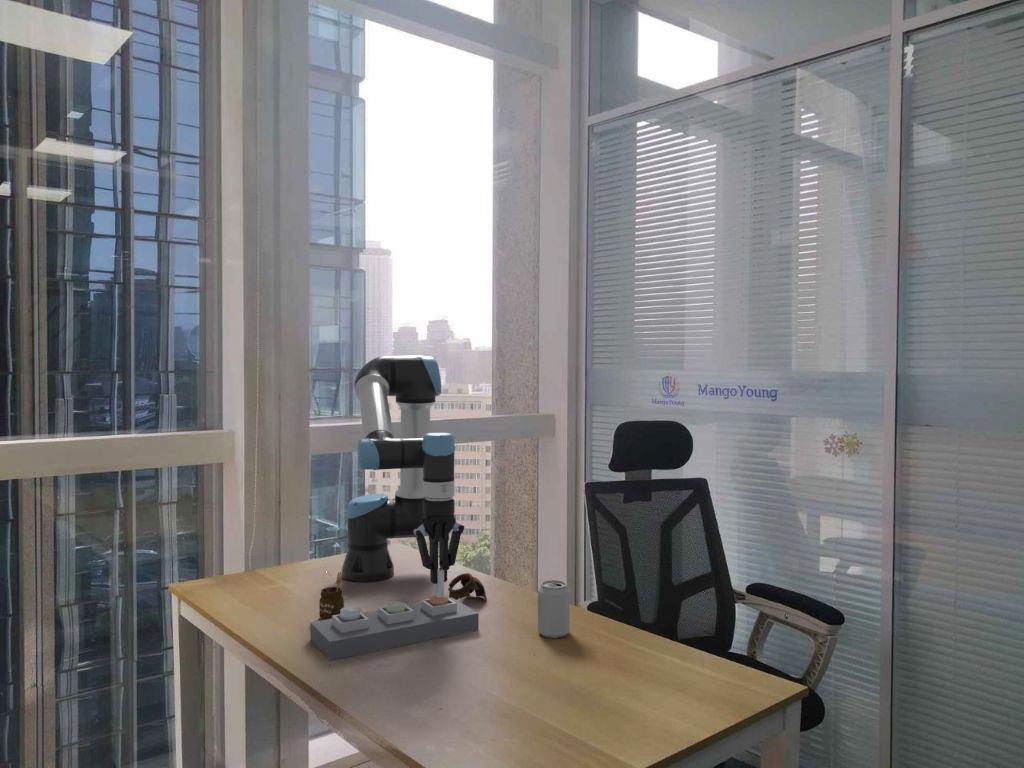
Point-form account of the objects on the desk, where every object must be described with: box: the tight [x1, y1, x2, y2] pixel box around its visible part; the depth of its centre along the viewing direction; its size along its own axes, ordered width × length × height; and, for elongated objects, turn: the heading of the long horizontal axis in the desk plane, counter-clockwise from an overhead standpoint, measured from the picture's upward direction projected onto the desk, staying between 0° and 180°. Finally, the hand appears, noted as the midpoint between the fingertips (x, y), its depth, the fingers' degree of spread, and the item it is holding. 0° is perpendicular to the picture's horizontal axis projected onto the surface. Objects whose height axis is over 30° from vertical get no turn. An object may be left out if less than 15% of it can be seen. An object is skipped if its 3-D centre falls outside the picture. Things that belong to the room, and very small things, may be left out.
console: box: [309, 597, 479, 661], centre depth 183 cm, size 14×36×6 cm, turn 121°
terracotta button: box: [429, 594, 449, 606], centre depth 188 cm, size 4×4×2 cm
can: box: [537, 579, 571, 639], centre depth 184 cm, size 8×8×12 cm
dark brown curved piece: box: [448, 572, 488, 603], centre depth 209 cm, size 12×10×8 cm
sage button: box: [385, 601, 406, 614], centre depth 183 cm, size 4×4×2 cm
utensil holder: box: [318, 570, 345, 620], centre depth 194 cm, size 6×6×12 cm
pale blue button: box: [340, 605, 361, 622], centre depth 177 cm, size 4×4×2 cm
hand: (438, 596), depth 188 cm, fingers closed
